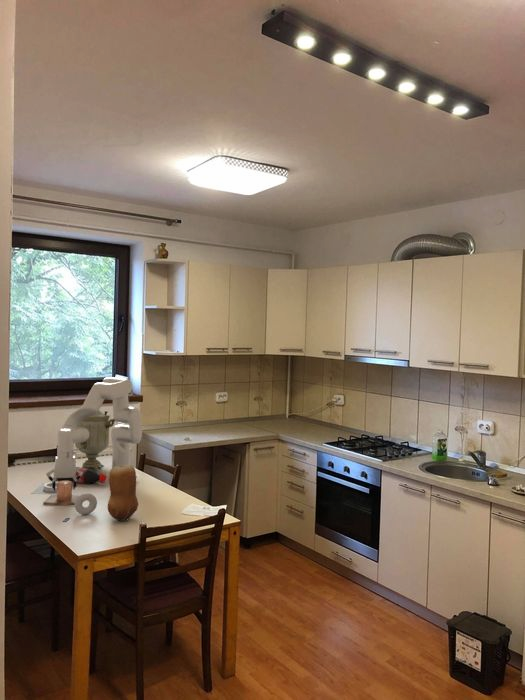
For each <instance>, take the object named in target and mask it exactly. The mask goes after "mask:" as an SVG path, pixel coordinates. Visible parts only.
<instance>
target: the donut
mask: <svg viewBox="0 0 525 700" xmlns="http://www.w3.org/2000/svg"><path fill="white" fill-rule="evenodd" d="M85 501H88V502H89V504H88V506H84V505H83V503H84V502H85ZM97 505H98V500H97V497H96V496H95V494H92V493H90V492H85V493H81V494H80V496H79V497H78V498H77V499H76V501H75V506H74V509H75V511H76V512H77V513H78V514H79V515H83V516H86V515H85V514H87V515H90V514H92V513H93V512H94V511H95V510H96V508H97Z"/></svg>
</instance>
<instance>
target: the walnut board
mask: <svg viewBox="0 0 525 700" xmlns="http://www.w3.org/2000/svg"><path fill="white" fill-rule="evenodd" d="M80 495H81V494H80ZM80 495H79V494H77V495H76V494H75V495H74V494H72V499H71V500H68V501H58V500H57V494H50V496H48V497H47V498H46V499H45V500H44V501H43V502H42V503H43V506H71V505H75V501H76V499H77V498H78V497H79V496H80Z"/></svg>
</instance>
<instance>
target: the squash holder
mask: <svg viewBox="0 0 525 700" xmlns="http://www.w3.org/2000/svg"><path fill="white" fill-rule="evenodd" d="M58 482H59V481H56V485H55V491H54V488H52V481H50V482H46V483H42V484H40V485H39V486H38V487H36V489H34V490H33V491H32V492H31V493H30V494H31V495H57V483H58ZM73 486H74V483H72V490H74V489H73Z"/></svg>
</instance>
